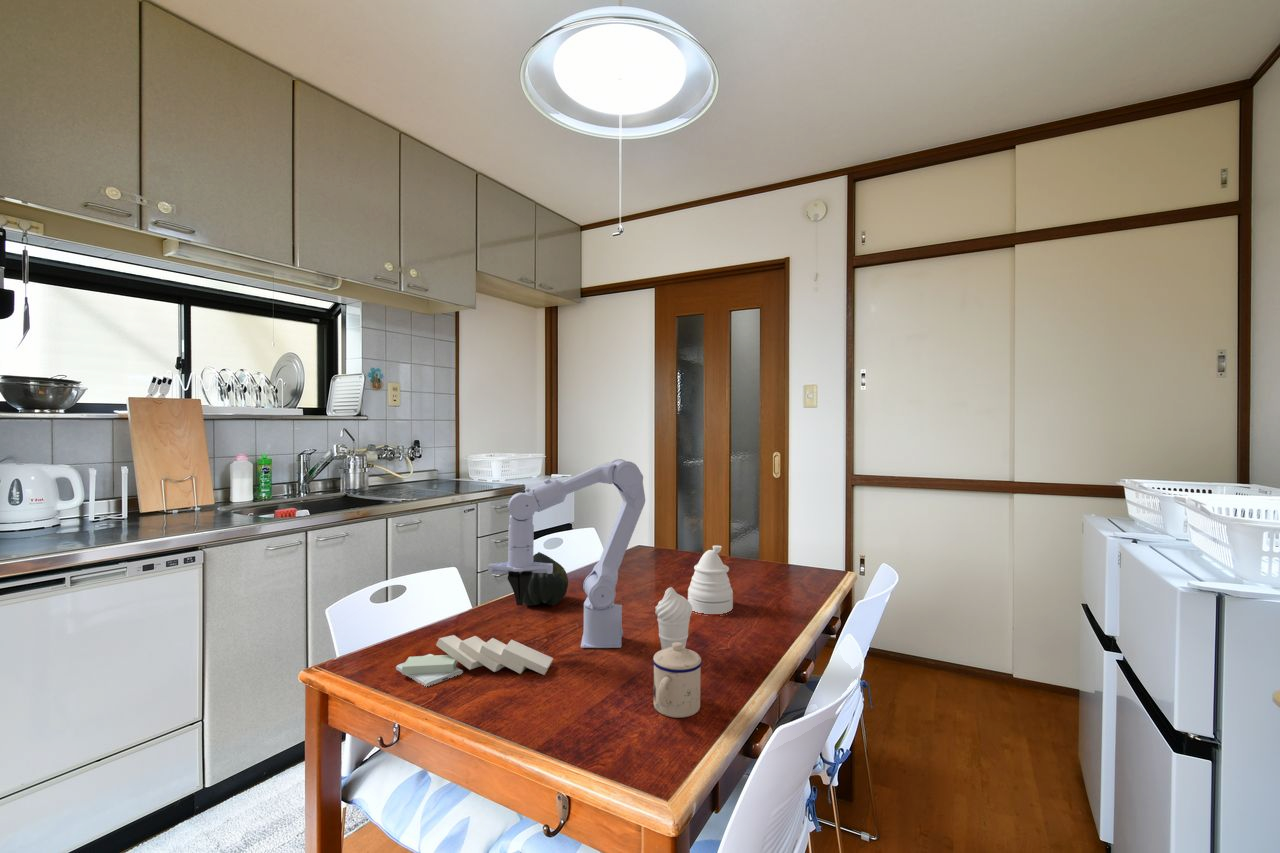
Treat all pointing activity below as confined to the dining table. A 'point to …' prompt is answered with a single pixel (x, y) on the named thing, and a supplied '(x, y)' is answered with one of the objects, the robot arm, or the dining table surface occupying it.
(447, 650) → the domino
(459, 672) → the hard drive
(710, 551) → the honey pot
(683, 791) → the dining table surface
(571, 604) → the dining table surface
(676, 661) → the teacup with lid
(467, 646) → the domino
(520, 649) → the domino
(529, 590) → the squash
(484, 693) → the dining table surface
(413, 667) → the domino
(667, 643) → the soft serve ice cream cone
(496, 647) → the domino
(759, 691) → the dining table surface
